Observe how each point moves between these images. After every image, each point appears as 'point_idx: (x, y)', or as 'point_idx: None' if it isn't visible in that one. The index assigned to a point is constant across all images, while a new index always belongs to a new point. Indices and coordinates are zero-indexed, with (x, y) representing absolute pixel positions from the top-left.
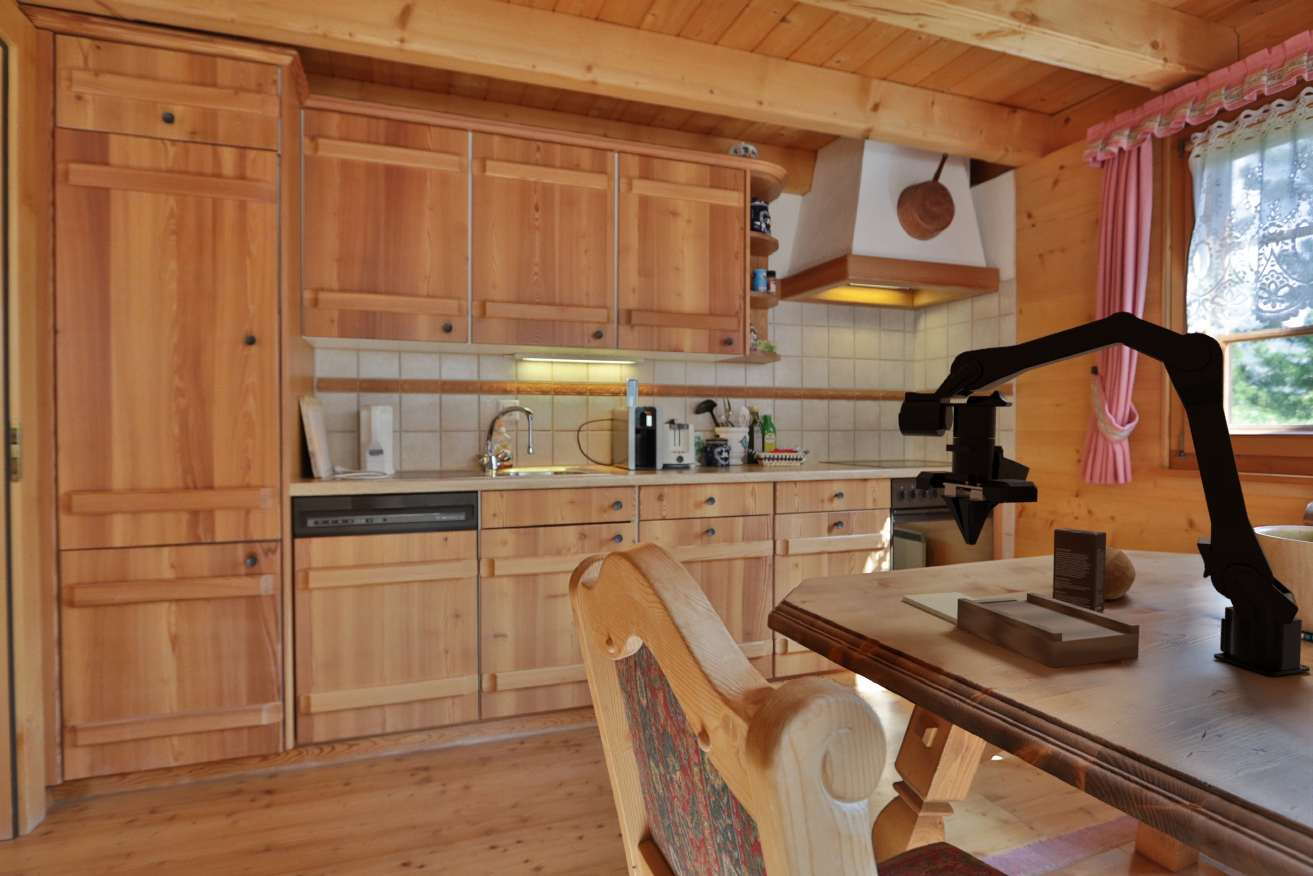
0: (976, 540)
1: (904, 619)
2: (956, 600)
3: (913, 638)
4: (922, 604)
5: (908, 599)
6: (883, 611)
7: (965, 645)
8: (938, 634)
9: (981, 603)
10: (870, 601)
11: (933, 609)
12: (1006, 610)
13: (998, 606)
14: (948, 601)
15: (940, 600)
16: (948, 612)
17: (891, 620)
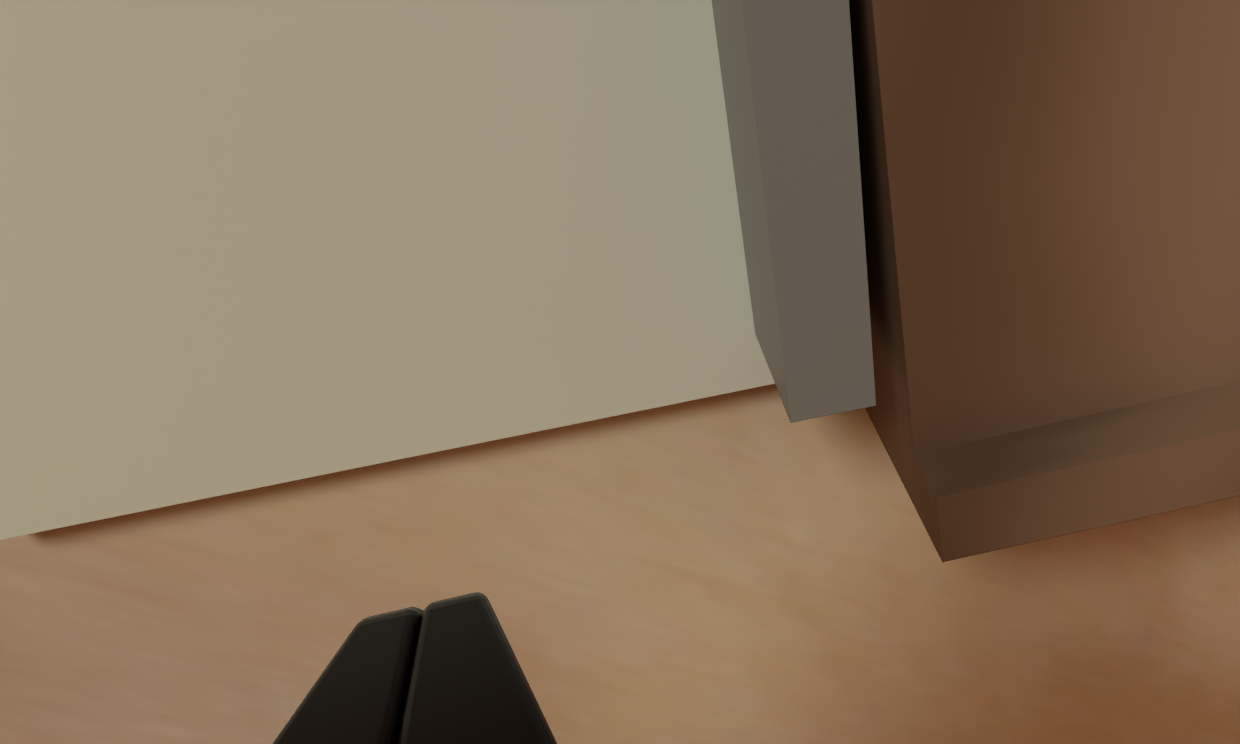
0: (509, 653)
1: (616, 656)
2: (85, 107)
3: (1013, 716)
4: (295, 479)
5: (87, 516)
6: None
7: (1223, 505)
8: (978, 572)
9: (862, 266)
10: (110, 733)
11: (451, 445)
12: (1180, 163)
13: (1027, 164)
14: (147, 212)
15: (120, 277)
16: (567, 372)
17: (635, 728)
